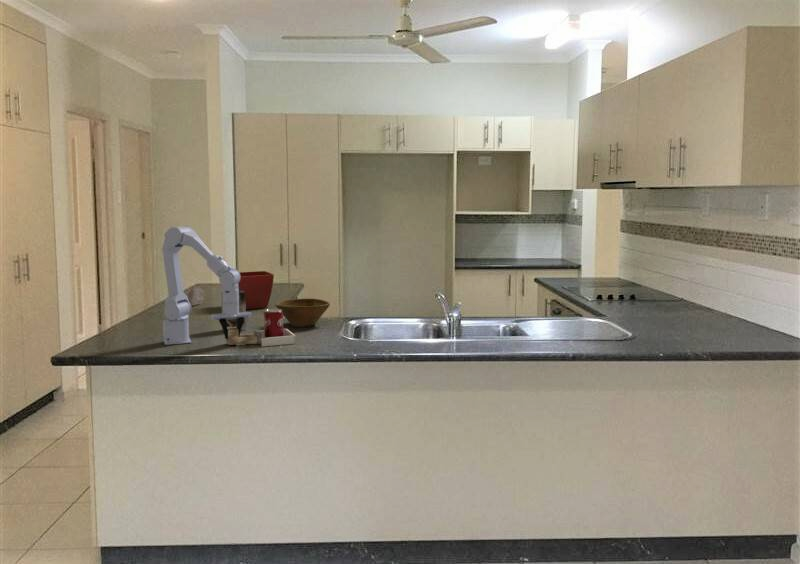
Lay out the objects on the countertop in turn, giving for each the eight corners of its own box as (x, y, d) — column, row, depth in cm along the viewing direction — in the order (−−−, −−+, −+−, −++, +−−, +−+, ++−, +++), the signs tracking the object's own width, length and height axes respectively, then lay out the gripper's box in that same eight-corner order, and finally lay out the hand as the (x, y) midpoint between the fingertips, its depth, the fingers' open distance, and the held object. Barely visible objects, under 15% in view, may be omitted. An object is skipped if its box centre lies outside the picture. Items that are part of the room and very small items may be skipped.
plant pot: (228, 305, 344) (227, 272, 342) (265, 303, 352) (264, 270, 350) (236, 311, 327) (235, 276, 325) (275, 308, 335) (274, 274, 333)
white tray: (262, 346, 252) (261, 338, 252) (254, 338, 266) (254, 331, 265) (296, 343, 257) (295, 335, 257) (287, 336, 271) (286, 328, 270)
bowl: (321, 331, 280) (320, 307, 279) (268, 329, 285) (267, 305, 283) (336, 321, 301) (336, 298, 300) (287, 319, 306) (286, 297, 305)
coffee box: (224, 332, 278) (222, 293, 276) (222, 329, 284) (220, 291, 282) (246, 330, 282) (245, 292, 280) (244, 327, 288) (243, 289, 286)
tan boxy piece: (229, 345, 251) (229, 330, 250) (225, 340, 259) (225, 326, 258) (261, 343, 255) (261, 329, 254) (256, 339, 263) (256, 325, 263)
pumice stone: (194, 302, 355) (193, 283, 354) (207, 303, 354) (206, 283, 352) (178, 307, 341) (177, 287, 340) (192, 307, 339) (191, 287, 338)
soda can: (264, 343, 257) (263, 312, 256) (264, 339, 264) (263, 309, 263) (283, 342, 258) (283, 311, 257) (283, 338, 266) (282, 308, 264)
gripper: (212, 305, 247) (213, 341, 249) (252, 302, 252) (253, 338, 254) (209, 302, 253) (211, 338, 255) (249, 299, 259) (250, 334, 261)
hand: (232, 338), depth 255 cm, fingers closed on tan boxy piece, 4 cm apart
